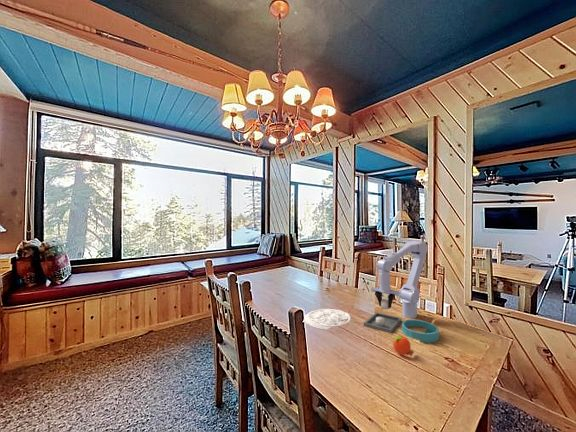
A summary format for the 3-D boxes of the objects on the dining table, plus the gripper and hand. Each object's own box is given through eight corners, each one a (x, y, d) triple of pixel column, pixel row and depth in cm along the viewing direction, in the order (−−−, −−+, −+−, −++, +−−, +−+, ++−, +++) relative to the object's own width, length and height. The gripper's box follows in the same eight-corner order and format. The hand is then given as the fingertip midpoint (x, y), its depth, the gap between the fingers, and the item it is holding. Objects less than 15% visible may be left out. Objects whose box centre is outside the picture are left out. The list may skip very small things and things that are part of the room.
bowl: (407, 324, 138) (406, 317, 138) (441, 332, 128) (441, 324, 127) (397, 336, 125) (397, 327, 125) (435, 346, 115) (435, 337, 115)
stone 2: (382, 305, 144) (382, 298, 144) (390, 307, 141) (390, 300, 141) (379, 308, 140) (379, 300, 140) (388, 310, 138) (387, 302, 138)
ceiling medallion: (355, 332, 131) (355, 326, 131) (300, 328, 137) (300, 323, 137) (352, 311, 158) (352, 306, 158) (307, 309, 164) (307, 304, 164)
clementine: (398, 359, 106) (398, 342, 106) (387, 350, 112) (387, 334, 112) (414, 355, 108) (414, 338, 108) (402, 347, 115) (402, 331, 115)
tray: (376, 316, 149) (376, 312, 149) (401, 322, 140) (401, 318, 140) (363, 327, 135) (363, 322, 135) (391, 335, 126) (390, 330, 126)
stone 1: (377, 323, 138) (377, 316, 138) (385, 325, 135) (385, 317, 135) (374, 326, 134) (374, 318, 134) (383, 328, 132) (382, 320, 132)
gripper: (369, 281, 142) (369, 305, 142) (396, 285, 133) (396, 311, 133) (373, 278, 148) (374, 302, 148) (400, 282, 138) (400, 307, 139)
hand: (385, 306), depth 141 cm, fingers closed on stone 2, 4 cm apart
